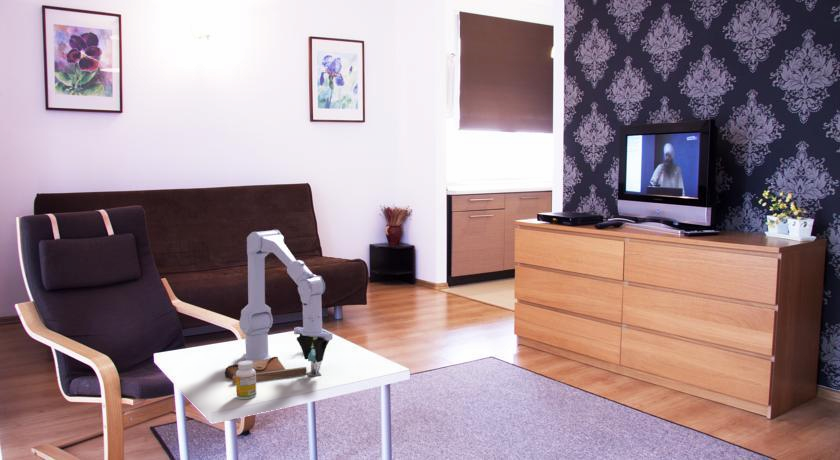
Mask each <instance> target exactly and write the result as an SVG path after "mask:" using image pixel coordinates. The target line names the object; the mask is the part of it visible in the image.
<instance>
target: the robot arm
mask: <svg viewBox="0 0 840 460" xmlns="http://www.w3.org/2000/svg"><path fill="white" fill-rule="evenodd" d="M270 253H273V254H274V255H275V256H276V257H277V258H278V259H279V261H281V262H282V263H283V264H284V265H285V266H286V268H287V269H286V273H287V274H288V275H289V276H290V278H291V279H292V281H294V282H295V284H296V285H297V292H298V294H299V297H300V301H301V303H302V327H301V326H297V327H294V328H293V334H294V335H299V336H297V337H296V341H297V342H298V344H299V346H300V349H301V351H302V353H303V357H304V360H308V355H309V353H310V351H311V350H312V342H313V345H314V347H313V349H315V355H316V362H320V361H322V362H323V361H324V355H325V353H326V352H325V351H326V349H327V345H328V344H329V342H330V341H332V340H333V333H332V332H330V331H326V330H324V329H323V327H322V322H323V315H322V314H323V311H322V309H323V308H322V305H323V304H322V295H323V294H324V293H325V290H326V283H325V281H324V279H323V277H322V276H321V275H316V274H314V273H313V272H312V271H311V270H310V269H309V267H308V266H307V265H306V264H305V262H304V260H300V259H296V258H295V256H294V255H293V253H292V252H291V251H290V249H289V248H288V247H287V244H285V237H284V235H283V234H282V232H280V230H279V229H272V230H265V231H264V230H262V231H252V232H251V233H249V235H248V236H247V237H246V254H247V294H248V295H247V298H248V300H247V301H248V304H247V305H245V306H244V308H242V309H241V311H240V318H239V329H240V331H241V332H242V334H245V337H244V339H245V341H244V342H245V353H243V354H242V357H243V358H244V359H245V360H244V361H252V362H254V361H259V360H264V359H269V358H272V357H271V355H270V354H269V335H268V332H270V328H272V326H273V320H274V319H273V314H272V311H271V310H272V308H271V307H270V306H269V305H267V304H266V296H265V295H266V294H265V293H266V286H265V284H266V281H265V280H266V279H265V272H266V270H265V263H266V262H265V258H266V257H267V256H268V255H269V254H270ZM313 337H316V338H317V339H315V340H313Z"/></svg>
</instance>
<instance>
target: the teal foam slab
mask: <svg viewBox="0 0 840 460" xmlns="http://www.w3.org/2000/svg"><path fill="white" fill-rule="evenodd" d="M307 361H308V362H310V372H311V373H317V371H319V369H320V368H321V366H322V363H323V361H320V362H316V355H315V348H313V349H312V350H311V351H310V353H309V355H308V359H307Z"/></svg>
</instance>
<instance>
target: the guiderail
mask: <svg viewBox="0 0 840 460" xmlns="http://www.w3.org/2000/svg"><path fill="white" fill-rule="evenodd" d="M307 373H308V371H307V367H306V366H302V367H294V368H285V370H278V371H270V372H263V373H256V382H259V381H267V380H273V379H280V378H281V379H282V378H288V377H296V376H304V375H308V374H307ZM232 384H233V385H236V376H233V381H232Z"/></svg>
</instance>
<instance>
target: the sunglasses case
mask: <svg viewBox="0 0 840 460" xmlns="http://www.w3.org/2000/svg"><path fill="white" fill-rule="evenodd" d="M252 368H253V369H254V370H255V371H256V373H263V372H270V371H278V370H285V369H286V368H285V366H284V365H283V364H282V362H281V361H280V360H279V357H278V356H272V357H271V358H269V359H264V360H259V361H254V362H253V367H252ZM238 370H239V369H238V363H237V364H232V365H229V366H227V367H226V368H225V370H224V376H225V378H227V380H230V381H232V382H233V376H236V372H237V371H238Z"/></svg>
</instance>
